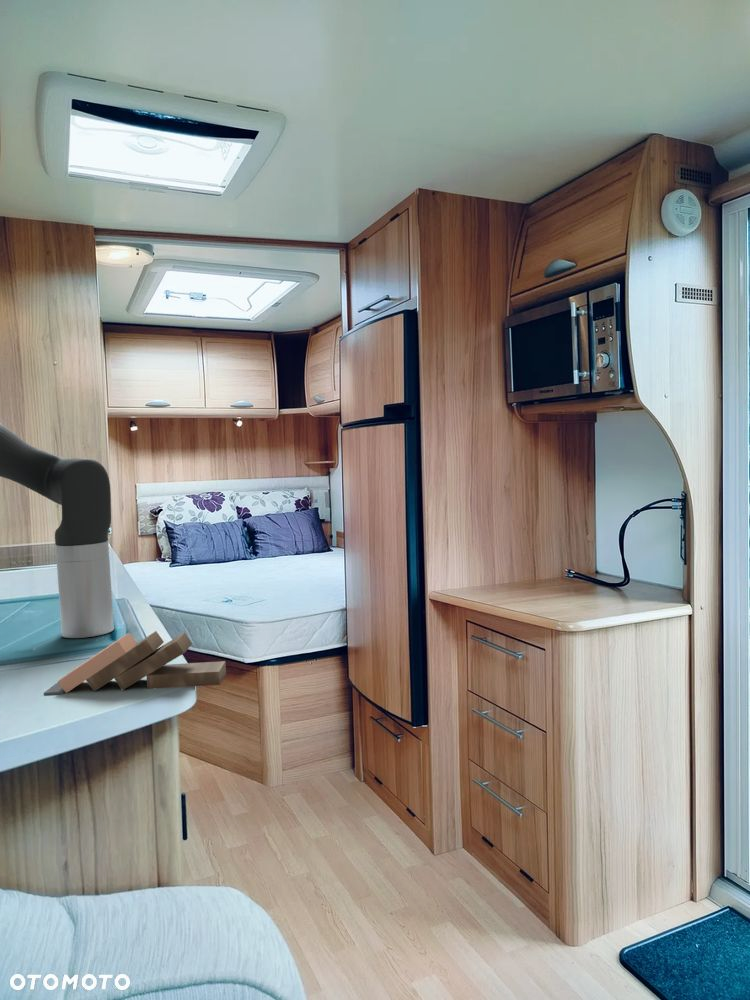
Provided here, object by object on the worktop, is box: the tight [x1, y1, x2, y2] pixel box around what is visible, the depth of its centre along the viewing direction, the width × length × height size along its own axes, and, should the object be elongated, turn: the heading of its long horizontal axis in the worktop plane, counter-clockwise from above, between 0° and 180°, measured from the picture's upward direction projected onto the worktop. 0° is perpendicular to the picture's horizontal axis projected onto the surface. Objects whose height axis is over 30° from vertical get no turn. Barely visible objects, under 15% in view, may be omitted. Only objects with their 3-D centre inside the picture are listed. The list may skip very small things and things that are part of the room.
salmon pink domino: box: [57, 631, 138, 694], centre depth 97 cm, size 2×5×10 cm
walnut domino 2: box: [113, 632, 193, 691], centre depth 97 cm, size 2×5×10 cm
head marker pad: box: [43, 681, 66, 696], centre depth 97 cm, size 3×6×1 cm, turn 2°
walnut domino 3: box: [146, 660, 227, 690], centre depth 98 cm, size 2×5×10 cm
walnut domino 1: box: [85, 630, 165, 692], centre depth 97 cm, size 2×5×10 cm
